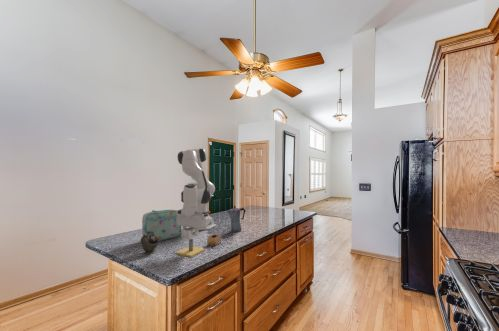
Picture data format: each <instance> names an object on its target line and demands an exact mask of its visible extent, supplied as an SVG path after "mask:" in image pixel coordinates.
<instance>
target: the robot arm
mask: <svg viewBox="0 0 499 331" xmlns="http://www.w3.org/2000/svg"><path fill="white" fill-rule="evenodd" d="M176 157H177V161H178V163H179V165H181V168H182V171H183V173H184V174H185V175H187V176H189V177H191V179H192V180H194V181H193V182H189V183H187V184H185V185H184V187H183V190H182V192H180V198H181V200H180V201H181V202H182V203H183V205H182V208H181V209H177V219H176V222H177V225H179V226H181V227H182V229H185V228H188V227H192V228H195V232H193V235H197V232H198V233H199V231H207V230H212V229H213V228H215V227H216V226H217V224H216V223H214V222H215V221H214V219H213V217H212V216H210V215H209V214H211V211H210V210H209V211H208V203H209V202H210V201H211V198H212V195H214V193H215V192H216V187H215V184H214V183H213V182H211V181H210V180H209V179H208V178H207V177H206V175H205V170H204V165H203V163H204V162H206V160H207V157H208V153H207V152H206V149H205V148H192V149H187V150H182V151H179V152H178V153H177V156H176Z"/></svg>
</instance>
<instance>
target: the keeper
mask: <svg viewBox="0 0 499 331" xmlns="http://www.w3.org/2000/svg"><path fill="white" fill-rule="evenodd" d="M205 251H206V249H205V248H202V247H197V246H194V239H193V238H192V239H188V246H187V247H184V248H183V249H180V250H178V251H176V252H175V254H176V255H179V256H184V257H187V258H193V257H195V256H197V255H199V254H202V253H203V252H205Z"/></svg>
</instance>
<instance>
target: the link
mask: <svg viewBox="0 0 499 331" xmlns="http://www.w3.org/2000/svg"><path fill="white" fill-rule="evenodd" d="M193 232H195V228H192V227H186V228H185V229H183V228H181V239H185V240H189V239H193V238H194V239H195V238H197V237H199V231H198V232H197V235H193Z"/></svg>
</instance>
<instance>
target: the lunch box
mask: <svg viewBox="0 0 499 331" xmlns="http://www.w3.org/2000/svg"><path fill="white" fill-rule="evenodd" d="M177 210H178V209H177ZM177 210H176V209H163V210H154V209H153V210H151V211H149V212H146V213H144V214H143V216H142V217H141V220H142V221H141V222H142V225H141V226H142V227H141V228H142V237H143V236H144V235H145V234H148V233H151V232H152V231H153V234H154V235H156V236H157V238H158V242H161V241H165V240H170V239H174V238H177V237H179V236H180V235H181V234H182V226H179V225H177V222H176V219H177ZM143 234H144V235H143Z"/></svg>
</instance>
